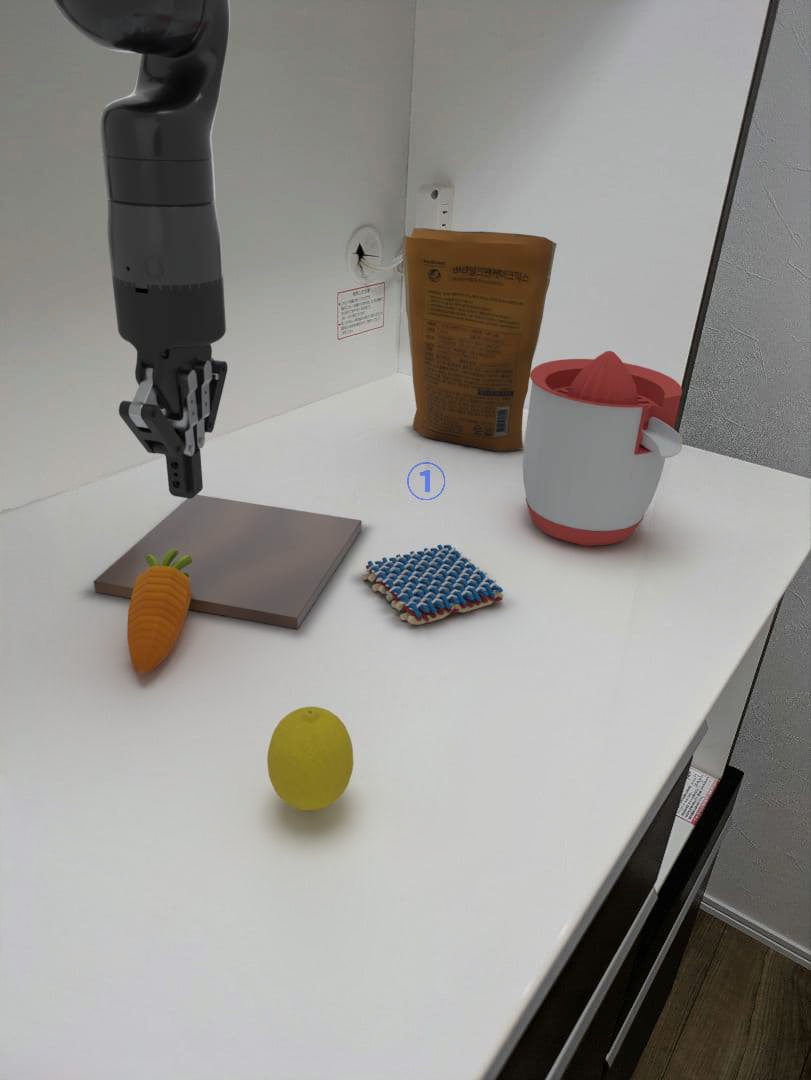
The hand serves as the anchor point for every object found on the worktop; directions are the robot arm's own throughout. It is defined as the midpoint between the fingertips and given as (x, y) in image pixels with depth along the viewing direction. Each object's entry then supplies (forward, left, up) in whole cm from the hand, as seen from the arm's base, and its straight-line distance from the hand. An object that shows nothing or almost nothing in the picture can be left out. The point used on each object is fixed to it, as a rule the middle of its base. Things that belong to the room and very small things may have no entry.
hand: (186, 493), depth 66 cm
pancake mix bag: (+14, +53, -14) cm, 56 cm away
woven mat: (+18, +13, -14) cm, 26 cm away
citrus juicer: (+32, +32, -14) cm, 47 cm away
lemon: (+16, -16, -14) cm, 26 cm away
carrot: (-1, -8, -12) cm, 15 cm away
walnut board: (-2, +13, -13) cm, 19 cm away
